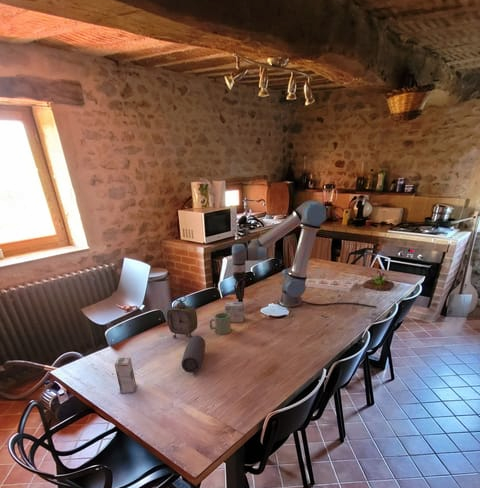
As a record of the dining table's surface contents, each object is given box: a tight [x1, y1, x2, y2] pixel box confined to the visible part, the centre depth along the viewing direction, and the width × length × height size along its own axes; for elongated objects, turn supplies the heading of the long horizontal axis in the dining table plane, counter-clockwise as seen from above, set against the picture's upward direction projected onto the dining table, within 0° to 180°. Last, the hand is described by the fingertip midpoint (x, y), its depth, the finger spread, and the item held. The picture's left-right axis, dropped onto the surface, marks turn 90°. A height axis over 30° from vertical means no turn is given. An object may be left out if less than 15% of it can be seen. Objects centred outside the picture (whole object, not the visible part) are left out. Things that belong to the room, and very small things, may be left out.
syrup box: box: [114, 356, 137, 394], centre depth 154 cm, size 6×6×14 cm
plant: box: [363, 270, 395, 292], centre depth 260 cm, size 20×20×11 cm
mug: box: [208, 312, 232, 335], centre depth 204 cm, size 12×9×10 cm
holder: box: [305, 278, 358, 293], centre depth 272 cm, size 45×18×3 cm, turn 59°
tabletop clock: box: [166, 293, 198, 340], centre depth 196 cm, size 14×9×25 cm, turn 70°
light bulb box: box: [224, 301, 245, 323], centre depth 217 cm, size 11×7×11 cm, turn 84°
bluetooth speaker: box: [181, 335, 206, 374], centre depth 173 cm, size 23×9×10 cm, turn 178°
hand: (240, 308), depth 227 cm, fingers closed
